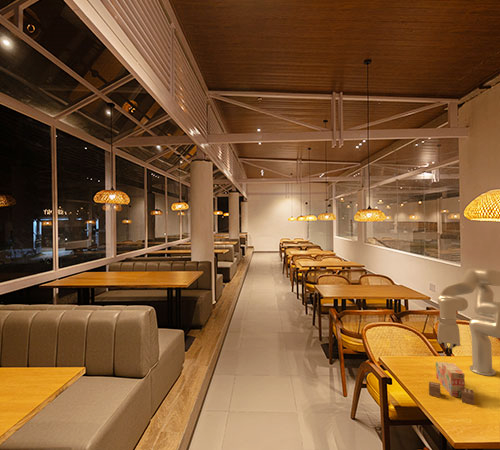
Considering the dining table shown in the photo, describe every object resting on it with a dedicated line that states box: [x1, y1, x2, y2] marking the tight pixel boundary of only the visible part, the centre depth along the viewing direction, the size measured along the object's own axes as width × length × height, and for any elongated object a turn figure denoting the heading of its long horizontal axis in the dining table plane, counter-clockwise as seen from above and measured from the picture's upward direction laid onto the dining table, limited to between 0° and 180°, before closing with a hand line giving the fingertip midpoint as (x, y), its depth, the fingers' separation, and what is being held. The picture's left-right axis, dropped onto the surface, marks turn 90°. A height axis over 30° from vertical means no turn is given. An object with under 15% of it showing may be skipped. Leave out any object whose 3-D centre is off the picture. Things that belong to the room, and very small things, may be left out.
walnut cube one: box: [428, 381, 441, 398], centre depth 164 cm, size 5×5×5 cm
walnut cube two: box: [460, 388, 475, 406], centre depth 157 cm, size 5×5×5 cm
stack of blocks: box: [435, 361, 466, 398], centre depth 171 cm, size 21×6×12 cm, turn 168°
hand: (449, 355), depth 171 cm, fingers closed
